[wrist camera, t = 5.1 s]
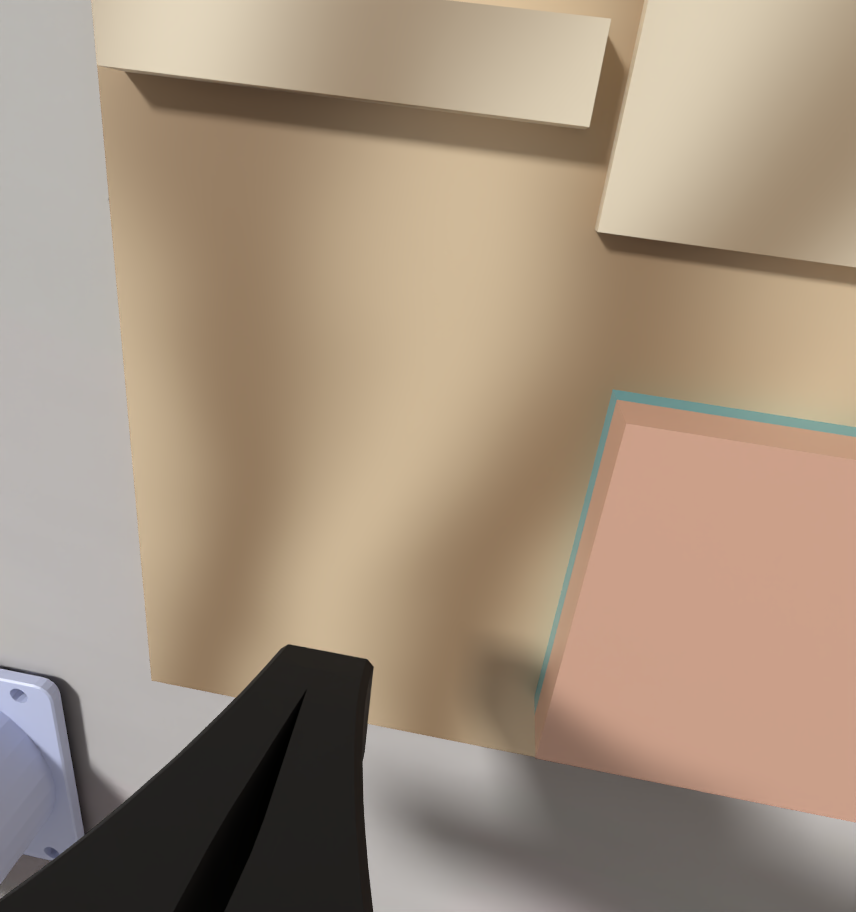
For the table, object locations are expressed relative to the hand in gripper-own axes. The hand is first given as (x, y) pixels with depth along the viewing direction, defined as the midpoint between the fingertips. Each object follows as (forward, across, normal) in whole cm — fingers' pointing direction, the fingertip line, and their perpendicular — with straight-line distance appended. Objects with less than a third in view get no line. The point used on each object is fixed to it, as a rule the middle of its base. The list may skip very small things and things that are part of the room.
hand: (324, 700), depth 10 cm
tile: (+4, -4, 0) cm, 6 cm away
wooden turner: (+5, -2, -9) cm, 11 cm away
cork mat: (+6, -3, -3) cm, 7 cm away
